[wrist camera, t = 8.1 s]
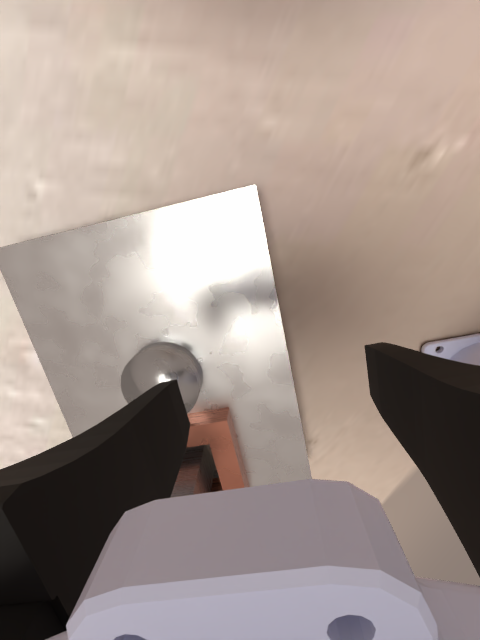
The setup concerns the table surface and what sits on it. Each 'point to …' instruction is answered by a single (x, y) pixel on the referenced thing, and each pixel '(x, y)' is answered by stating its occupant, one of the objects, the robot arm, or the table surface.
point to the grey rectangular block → (195, 472)
